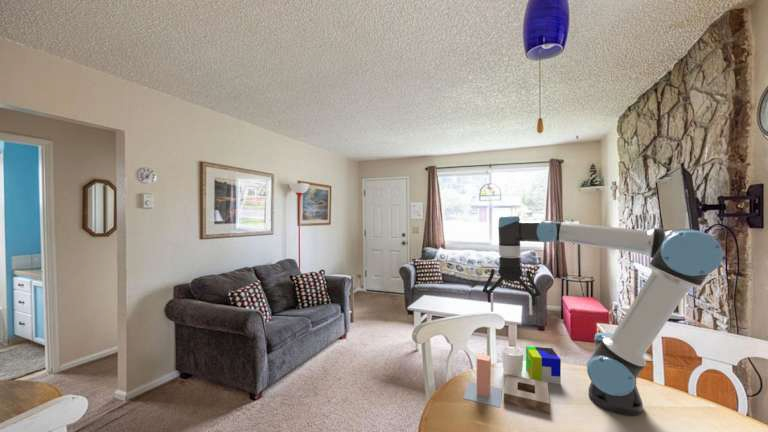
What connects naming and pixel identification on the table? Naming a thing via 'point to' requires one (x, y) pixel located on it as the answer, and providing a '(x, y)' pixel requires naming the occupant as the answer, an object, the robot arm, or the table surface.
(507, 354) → the white cup
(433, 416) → the table surface
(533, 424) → the table surface
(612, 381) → the robot arm
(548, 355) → the puzzle toy
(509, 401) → the pocket block
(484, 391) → the peg
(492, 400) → the mat
